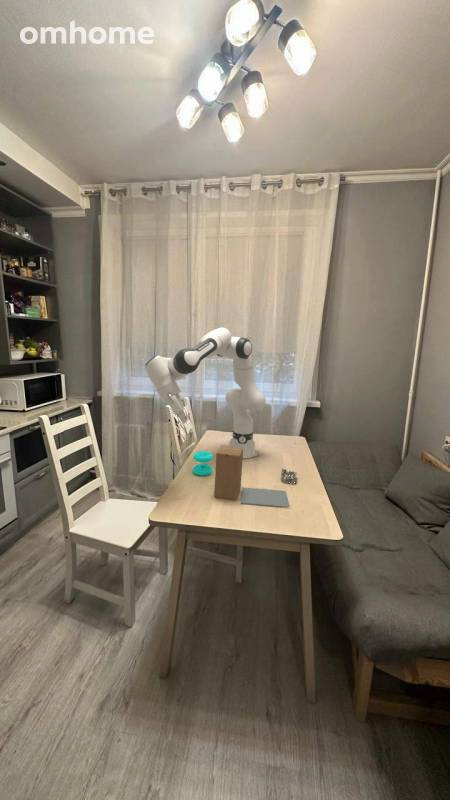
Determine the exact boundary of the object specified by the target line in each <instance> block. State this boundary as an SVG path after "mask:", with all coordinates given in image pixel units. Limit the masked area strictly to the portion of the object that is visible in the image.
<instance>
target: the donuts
mask: <svg viewBox="0 0 450 800" xmlns="http://www.w3.org/2000/svg"><path fill="white" fill-rule="evenodd" d="M192 459H194V461H196V462H198V464H196V465H193V468H192V472H193V473H194V475H196V476H201V477H203V476H209V475H211V474H212V473H213V471H214V470H213V469H214V468H213V467H212V466H211V465H210V464H208V463H210V462H212V461H213V459H214V455H213V453H212V452H210V451H205V450H200V451H196V452H194V453H193V457H192Z"/></svg>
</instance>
